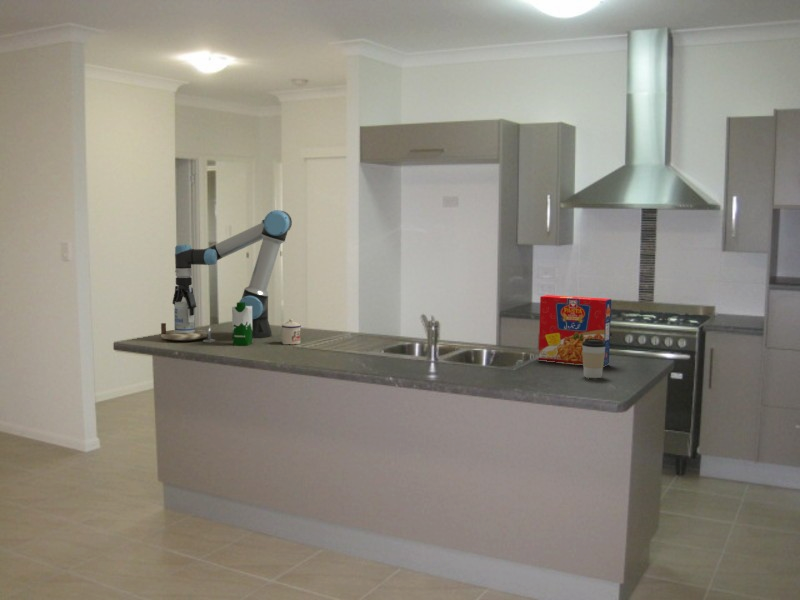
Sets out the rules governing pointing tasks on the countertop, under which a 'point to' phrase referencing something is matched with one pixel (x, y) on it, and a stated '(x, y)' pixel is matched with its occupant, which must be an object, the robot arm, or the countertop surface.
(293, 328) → the teacup with lid
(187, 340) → the turntable base
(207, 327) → the dial pointer stand
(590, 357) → the coffee cup
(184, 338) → the lazy susan platter
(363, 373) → the countertop surface
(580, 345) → the pasta box
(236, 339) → the milk carton
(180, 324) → the supplement tub
